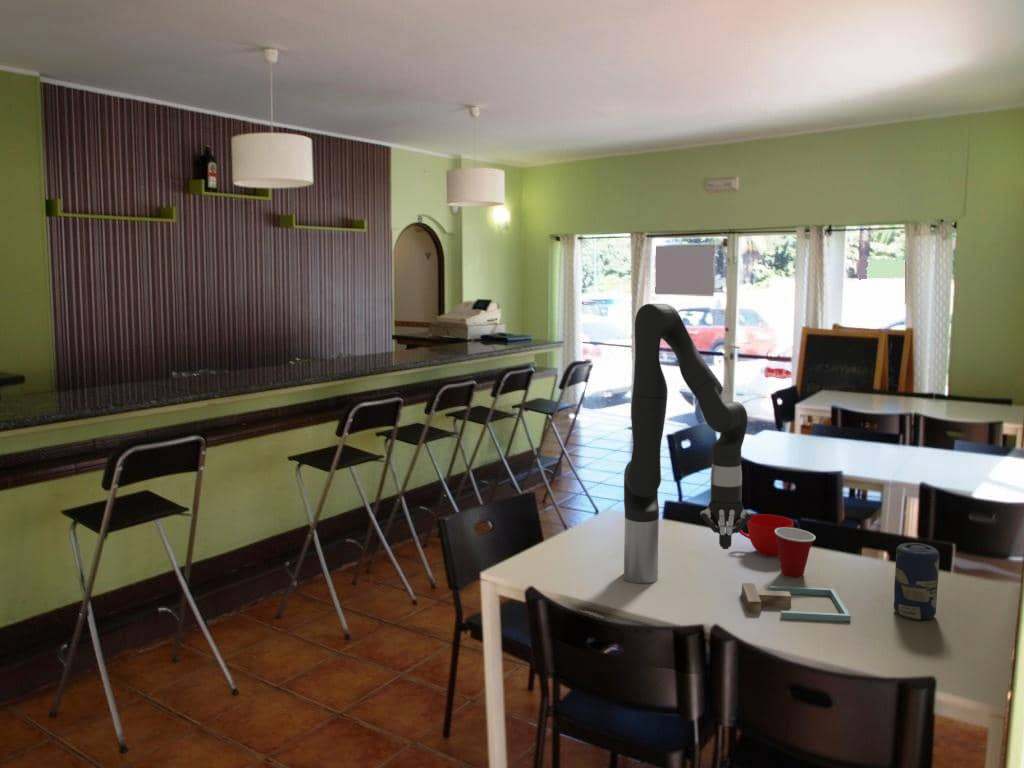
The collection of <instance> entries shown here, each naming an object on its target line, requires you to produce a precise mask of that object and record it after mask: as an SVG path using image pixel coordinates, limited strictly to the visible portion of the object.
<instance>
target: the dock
mask: <svg viewBox="0 0 1024 768" xmlns="http://www.w3.org/2000/svg"><path fill="white" fill-rule="evenodd" d="M769 591H788V592H790V594H791V595H792V594H793V595H807V596H808V595H811V596H829V595H830V597H832V598H831V599H832V601H833V603H834V602H835V603H834V605H835V606H836V605H837V606H836V608H837V607H838V608H837V609H838V611H839V610H840V611H839V612H840V613H833V612H815V611H813V612H811V611H794V610H793V611H792V610H780V618H781V619H785V620H786V619H787V620H788V619H791V620H807V621H809V620H810V621H825V622H826V621H827V620H828V621H830V622H845V621H850V622H851V616H852V615H851V614H850V613H849V611H848V609H847V607H846V606H845V605H844V603H843V602H842V600H841V598H840V597H839V595H838V593H837V592H836V590H835V589H834V588H826V587H825V588H824V587H803V586H782V585H780V586H779V585H778V586H777V585H770V586H769ZM841 613H842V614H841Z"/></svg>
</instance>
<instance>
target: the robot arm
mask: <svg viewBox="0 0 1024 768" xmlns="http://www.w3.org/2000/svg"><path fill="white" fill-rule="evenodd" d="M661 339H662V340H663V341H665V343H666V344H667V345H668V346H669V347H670V348H671V350H672V351H673V353H674V355H675V356H676V360H677V362H678V366H679V371H680V374H681V377H682V379H683V381H684V383H685V385H687V387H688V389H689V390H690V392H691V393H692V394H693V396H695V398H696V400H697V401H698V402H697V403H698V405H699V408H700V411H701V413H702V416H703V418H704V421H705V422H706V423H707V425H708V426H709V428H711V430H712V431H714V432H716V433H720V436H719V437H718V439H717V440H715V441H714V442H713V444H712V451H711V457H712V459H711V468H710V469H711V470H710V502H709V504H708V507H707V508H706V509H705V510H701V511H700V517H701V518H702V520H703V521H704V522H705V523H706V524H707V525H708V527H709V528H710V529H711V530H712V532H714V533H715V534H716V533H717V534H718V535H719V536H718V537H719V538H718V544H719V546H720V548H721V549H722V550H729V548H730V547H732V535H733V534H739V531H740V530H742V529H743V528H744V527H745V526H746V523H747V522H748V521H749V520H750V519H751V517H752V516H753V515H752V513H751V512H750V511H749V510H746V509H744V505H743V504H742V497H743V496H742V495H743V494H742V492H743V491H742V490H743V489H742V488H743V473H742V472H743V470H742V446H743V443H744V440H745V436H746V432H747V427H748V420H749V418H748V412H747V410H746V407H745V406H744V405H743V404H742V403H741V402H739V401H734V400H733V401H728V402H727V401H726V402H723V400H722V399H721V394H722V393H723V390H724V389H723V386H722V383H721V382H720V380H719V379H718V378H717V377H716V375H715V374H714V372H713V371H712V369H711V368H710V367H709V365H708V364H707V363H706V361H705V360H704V358H703V356H702V355H701V353H700V352H699V350H698V349H697V346H696V345H695V343H694V341H693V339H692V336H691V335H690V333H689V331H688V329H687V328H686V325H685V323H684V321H683V319H682V317H681V315H680V313H679V312H678V310H677V309H676V308H675V307H674V306H672V305H670V304H667V303H646V304H644V305H642V306H640V308H639V309H638V310H637V312H636V314H635V319H634V370H633V371H634V372H633V386H632V394H631V403H630V404H631V406H630V407H631V408H630V411H631V412H630V415H631V416H630V417H631V430H632V431H631V432H632V451H631V453H632V454H631V459H630V461H628V463H627V464H626V466H625V468H624V474H623V503H624V504H623V505H624V507H623V508H624V538H623V539H624V541H623V542H624V544H623V545H624V546H623V547H624V549H623V551H624V552H623V581H626V582H627V581H629V582H631V583H635V584H650V583H653V582H656V581H657V580H658V578H659V535H660V534H659V530H660V529H659V528H660V524H659V523H660V519H659V518H660V509H659V508H660V507H659V496H658V495H659V492H658V491H659V487H660V485H661V483H662V473H661V471H662V470H661V451H662V450H661V446H662V439H663V433H664V428H665V427H664V426H665V420H666V414H667V405H668V404H667V403H668V394H669V393H668V391H669V390H668V385H667V380H666V377H665V375H664V372H663V369H662V366H661V362H660V361H661V360H660V351H661V350H660V349H661V348H660V347H661ZM711 514H712V515H713V517H714V518H715V520H717V521H718V522H717V523H718V526H717V525H716V524H715V522H714V521H713V519H711V517H712V516H711ZM739 516H740V518H739V519H740V520H739V519H738V520H739V521H738V520H737V518H738V517H739ZM735 521H736V522H737V521H738V522H737V523H736V522H735ZM734 522H735V524H734Z"/></svg>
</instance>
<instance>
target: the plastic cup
mask: <svg viewBox="0 0 1024 768" xmlns="http://www.w3.org/2000/svg"><path fill="white" fill-rule="evenodd" d="M775 534H776V539H777V543H778V552H779V556H778V558H779V559H778V560H779V564H780V571H781V574H782V575H783V576H785V577H788V578H792V579H793V578H797V579H798V578H801V577H803V576H804V574H805V570H806V565H807V562H808V558H809V554H810V550H811V547H812V545H813V543H814V541H815V540H816V535H814V533H811V532H809V531H808V530H803V529H801V528H796V527H793V528H787V527H783V528H777V529H775Z"/></svg>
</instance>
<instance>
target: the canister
mask: <svg viewBox="0 0 1024 768" xmlns="http://www.w3.org/2000/svg"><path fill="white" fill-rule="evenodd" d="M895 552H896V553H895V571H894V573H895V574H894V583H893V584H894V587H893V588H894V589H893V593H894V594H893V597H894V598H893V609H894V610H895V612H896V613H898V614H899V615H901V616H903V617H905V618H909V619H914V620H929V619H931V618H934V617H935V615H936V614H937V603H938V602H937V601H938V586H939V585H938V584H939V574H940V573H939V571H940V569H939V568H940V567H939V566H940V552H939V550H938V549H937V548H935V547H934V546H931V545H928V544H925V543H920V542H905V543H901V544H898V546H897V547H896V550H895Z"/></svg>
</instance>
